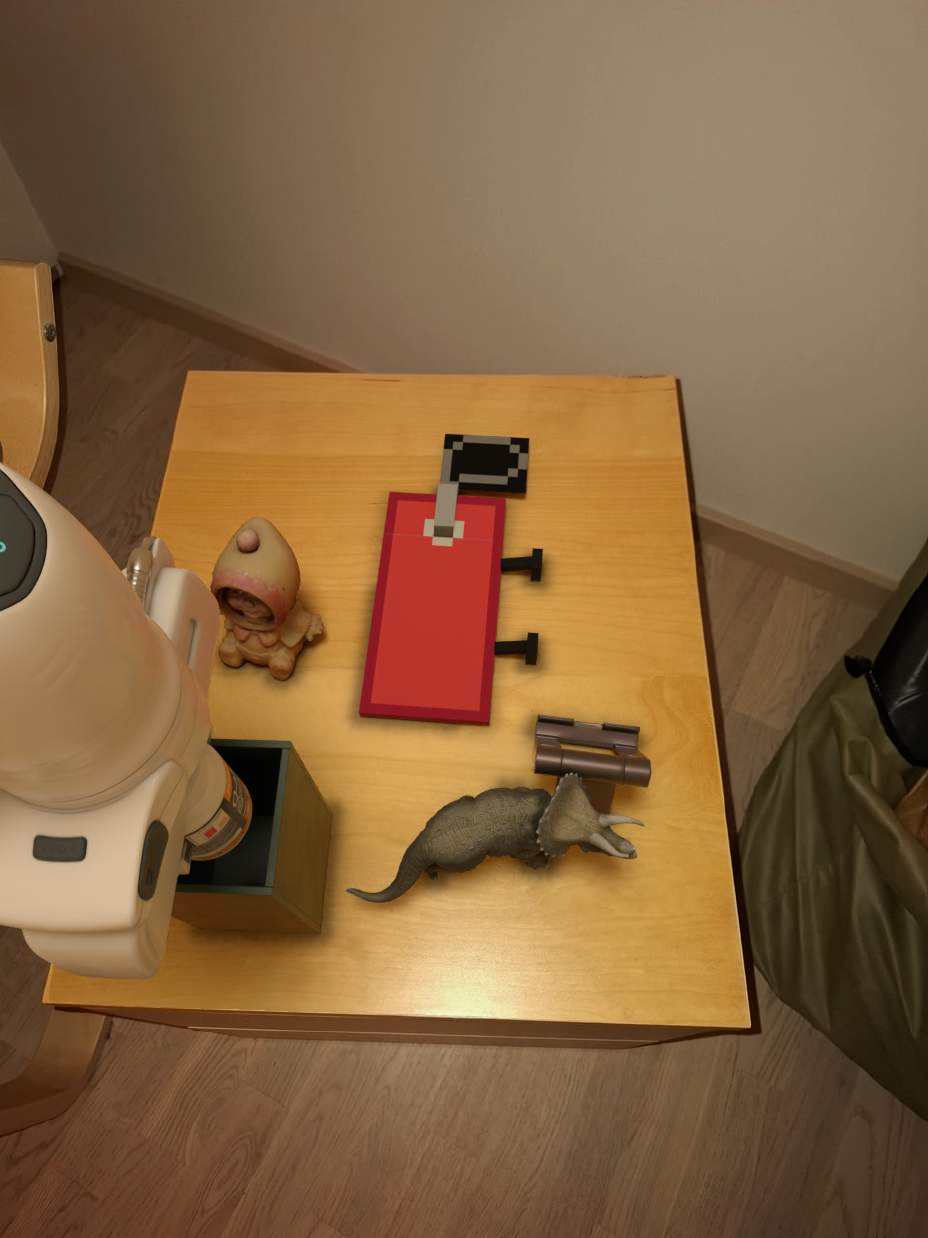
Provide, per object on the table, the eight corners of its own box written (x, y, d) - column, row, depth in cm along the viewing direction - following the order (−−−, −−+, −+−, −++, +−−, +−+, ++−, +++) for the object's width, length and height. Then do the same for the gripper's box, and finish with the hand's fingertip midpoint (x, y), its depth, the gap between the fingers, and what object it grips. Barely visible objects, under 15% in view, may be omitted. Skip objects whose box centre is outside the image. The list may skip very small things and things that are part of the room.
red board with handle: (547, 444, 90) (399, 436, 91) (549, 427, 88) (397, 419, 88) (532, 730, 78) (360, 718, 78) (533, 719, 75) (356, 707, 76)
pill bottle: (273, 813, 56) (236, 768, 47) (201, 882, 54) (149, 849, 45) (213, 753, 58) (167, 698, 49) (142, 818, 56) (80, 773, 47)
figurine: (202, 668, 80) (168, 553, 69) (233, 605, 85) (207, 488, 73) (309, 690, 79) (292, 578, 68) (335, 626, 84) (323, 511, 72)
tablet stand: (638, 733, 77) (656, 699, 70) (633, 824, 74) (652, 798, 66) (536, 721, 78) (543, 685, 70) (527, 810, 75) (533, 783, 67)
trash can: (332, 813, 74) (290, 740, 57) (320, 934, 70) (271, 895, 53) (218, 809, 75) (142, 735, 57) (200, 930, 71) (111, 890, 53)
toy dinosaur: (352, 913, 71) (333, 890, 61) (346, 807, 75) (327, 770, 65) (626, 881, 72) (651, 854, 62) (607, 779, 76) (628, 737, 66)
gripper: (81, 516, 44) (166, 634, 57) (-34, 960, 35) (97, 984, 48) (209, 520, 44) (265, 637, 56) (126, 966, 35) (215, 989, 48)
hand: (188, 799), depth 52 cm, fingers closed on pill bottle, 6 cm apart
